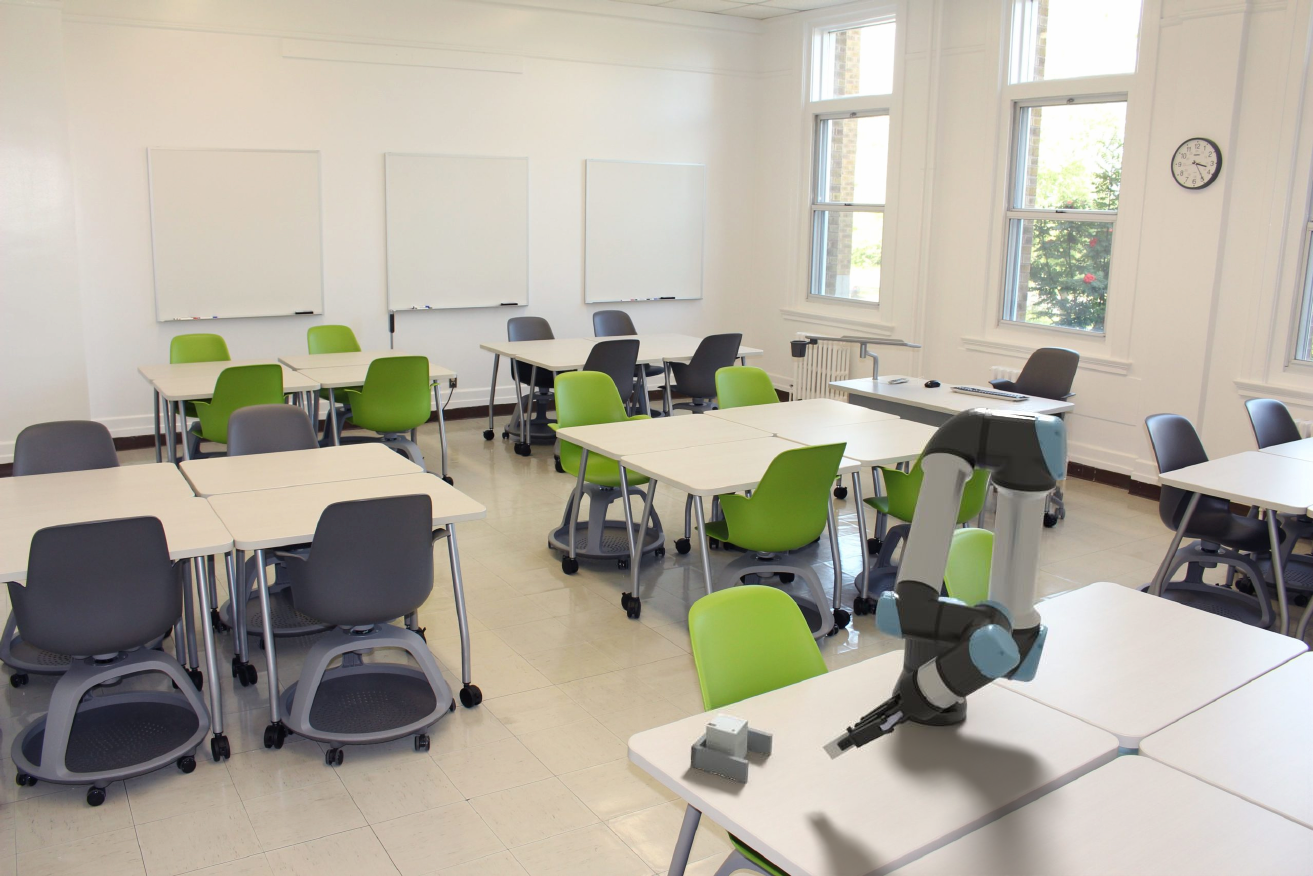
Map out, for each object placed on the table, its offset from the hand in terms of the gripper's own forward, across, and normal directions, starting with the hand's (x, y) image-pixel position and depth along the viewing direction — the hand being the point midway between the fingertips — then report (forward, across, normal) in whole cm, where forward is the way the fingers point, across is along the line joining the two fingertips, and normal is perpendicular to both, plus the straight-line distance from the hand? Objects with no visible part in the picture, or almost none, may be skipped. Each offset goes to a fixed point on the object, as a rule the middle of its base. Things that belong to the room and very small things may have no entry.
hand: (828, 751), depth 177 cm
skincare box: (+20, 0, +8) cm, 21 cm away
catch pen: (+18, 0, +8) cm, 20 cm away
